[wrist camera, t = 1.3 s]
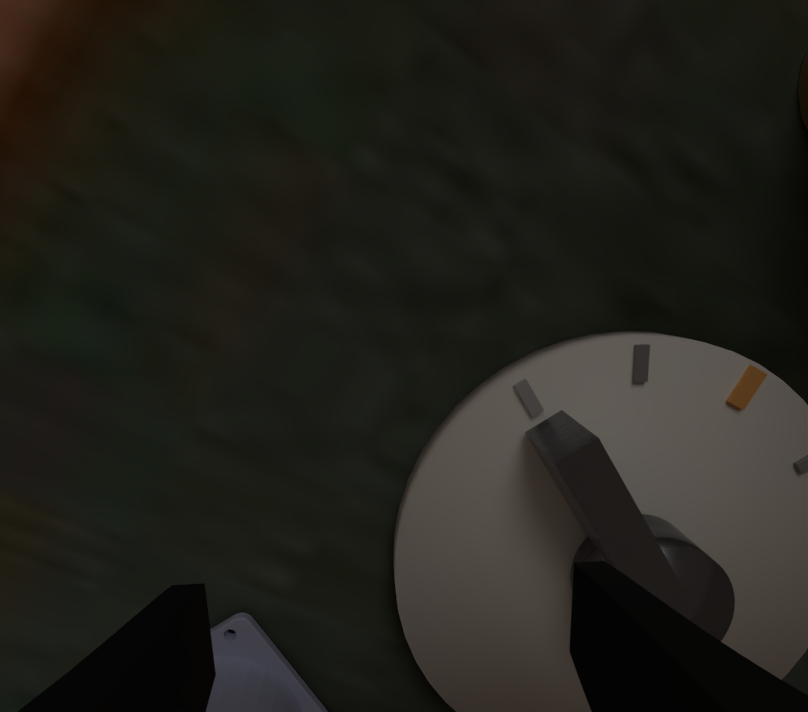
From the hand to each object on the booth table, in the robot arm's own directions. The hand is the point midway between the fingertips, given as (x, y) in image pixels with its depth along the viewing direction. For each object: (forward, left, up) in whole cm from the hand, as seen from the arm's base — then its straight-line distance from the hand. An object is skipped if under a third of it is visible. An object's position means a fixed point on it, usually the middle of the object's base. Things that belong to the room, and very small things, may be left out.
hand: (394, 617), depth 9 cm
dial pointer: (+6, -7, -9) cm, 13 cm away
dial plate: (+6, -10, -10) cm, 15 cm away
